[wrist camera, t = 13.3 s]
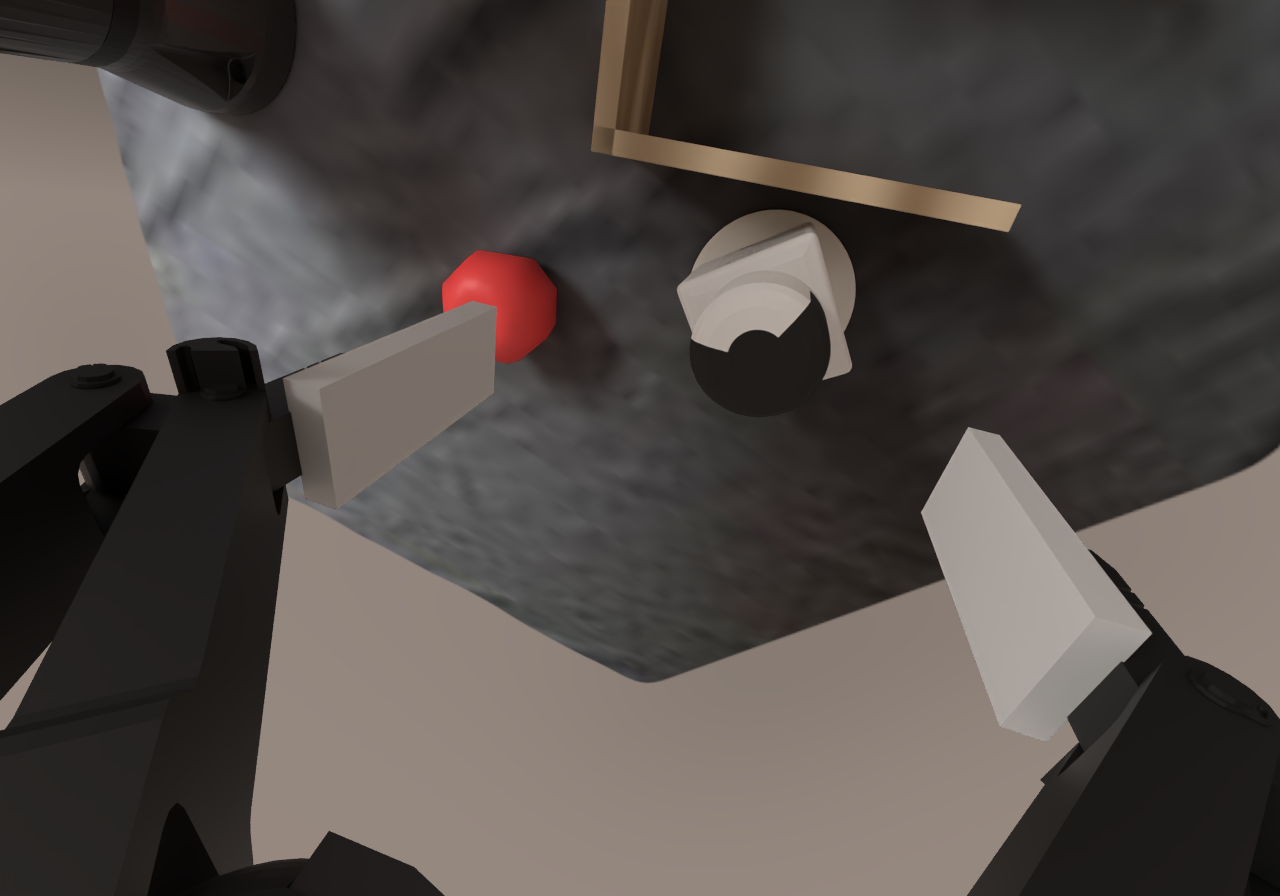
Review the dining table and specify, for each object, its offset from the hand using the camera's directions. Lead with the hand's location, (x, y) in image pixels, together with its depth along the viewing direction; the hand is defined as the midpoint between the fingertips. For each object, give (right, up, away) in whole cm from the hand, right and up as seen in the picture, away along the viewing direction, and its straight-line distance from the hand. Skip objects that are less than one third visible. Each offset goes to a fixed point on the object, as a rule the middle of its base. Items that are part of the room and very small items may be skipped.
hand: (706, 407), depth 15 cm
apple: (-11, +11, +26) cm, 30 cm away
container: (+7, +9, +21) cm, 24 cm away
